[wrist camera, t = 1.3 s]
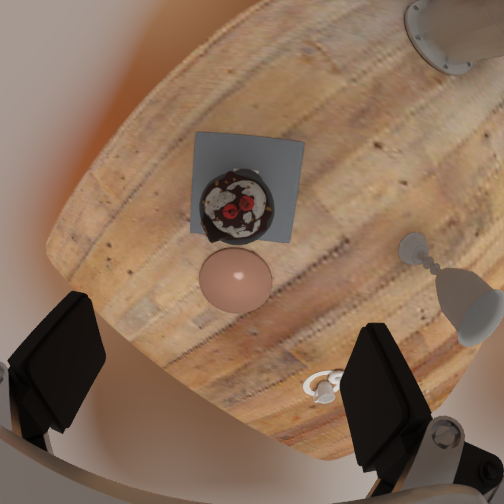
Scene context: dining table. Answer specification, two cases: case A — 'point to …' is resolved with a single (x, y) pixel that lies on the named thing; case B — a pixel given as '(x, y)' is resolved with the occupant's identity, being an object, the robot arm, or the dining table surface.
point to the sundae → (236, 207)
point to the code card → (256, 159)
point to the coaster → (235, 280)
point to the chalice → (458, 293)
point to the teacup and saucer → (324, 386)
